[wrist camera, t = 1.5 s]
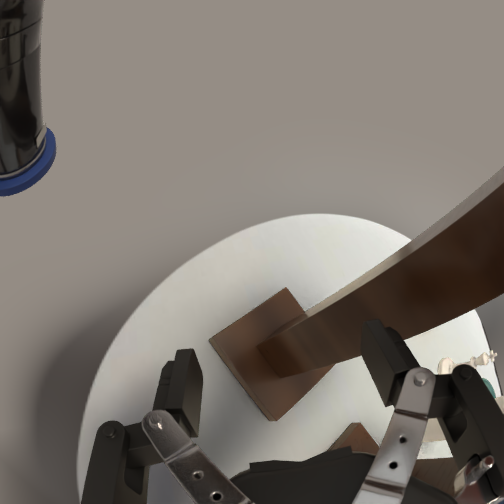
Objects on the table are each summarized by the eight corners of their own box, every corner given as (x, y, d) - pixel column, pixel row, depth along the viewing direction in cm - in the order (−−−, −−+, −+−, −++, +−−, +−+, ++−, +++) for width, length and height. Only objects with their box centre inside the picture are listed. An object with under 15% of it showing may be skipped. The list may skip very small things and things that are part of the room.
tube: (409, 425, 30) (507, 405, 18) (425, 408, 32) (516, 385, 20) (417, 448, 29) (512, 434, 17) (432, 431, 31) (521, 412, 19)
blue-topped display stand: (333, 535, 20) (511, 566, 2) (284, 491, 22) (497, 532, 4) (393, 464, 27) (557, 443, 9) (356, 416, 29) (543, 373, 11)
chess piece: (450, 356, 39) (498, 337, 31) (454, 383, 37) (503, 367, 29) (436, 359, 38) (488, 339, 30) (440, 389, 35) (493, 372, 27)
